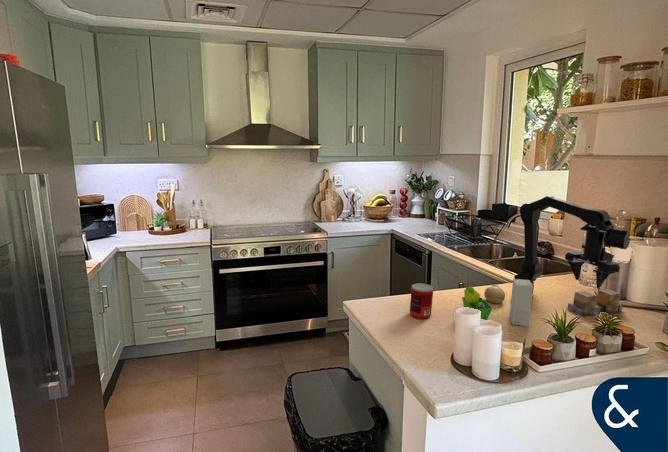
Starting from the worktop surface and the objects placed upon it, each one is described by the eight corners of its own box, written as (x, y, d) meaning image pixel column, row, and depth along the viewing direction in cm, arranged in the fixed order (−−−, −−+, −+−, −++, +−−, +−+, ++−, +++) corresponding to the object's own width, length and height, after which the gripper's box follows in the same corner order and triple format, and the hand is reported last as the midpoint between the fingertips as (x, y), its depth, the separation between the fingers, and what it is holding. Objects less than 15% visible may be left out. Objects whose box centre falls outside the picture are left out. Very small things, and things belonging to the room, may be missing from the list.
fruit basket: (492, 322, 145) (495, 291, 143) (468, 321, 145) (471, 291, 143) (479, 309, 157) (482, 281, 154) (456, 309, 156) (459, 281, 154)
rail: (583, 319, 151) (585, 310, 150) (563, 309, 159) (565, 301, 158) (624, 315, 156) (626, 306, 156) (603, 306, 165) (604, 298, 164)
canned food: (431, 313, 151) (434, 284, 149) (429, 321, 144) (432, 291, 142) (411, 309, 154) (413, 281, 152) (407, 317, 146) (410, 288, 144)
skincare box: (529, 327, 142) (534, 286, 139) (510, 324, 144) (515, 284, 141) (525, 318, 150) (530, 279, 147) (508, 315, 152) (512, 277, 149)
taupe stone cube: (606, 312, 156) (609, 294, 154) (594, 306, 161) (596, 290, 160) (617, 311, 157) (620, 293, 156) (605, 305, 162) (607, 289, 161)
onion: (508, 303, 165) (510, 286, 163) (496, 306, 160) (498, 289, 159) (491, 296, 171) (492, 280, 170) (479, 300, 167) (481, 283, 165)
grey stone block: (584, 314, 153) (587, 296, 151) (572, 308, 158) (575, 291, 157) (595, 313, 154) (598, 295, 153) (583, 307, 159) (586, 290, 158)
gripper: (634, 248, 145) (627, 290, 147) (589, 237, 162) (583, 275, 165) (610, 250, 141) (603, 292, 144) (566, 238, 159) (561, 276, 162)
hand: (587, 283), depth 154 cm, fingers open, 9 cm apart
